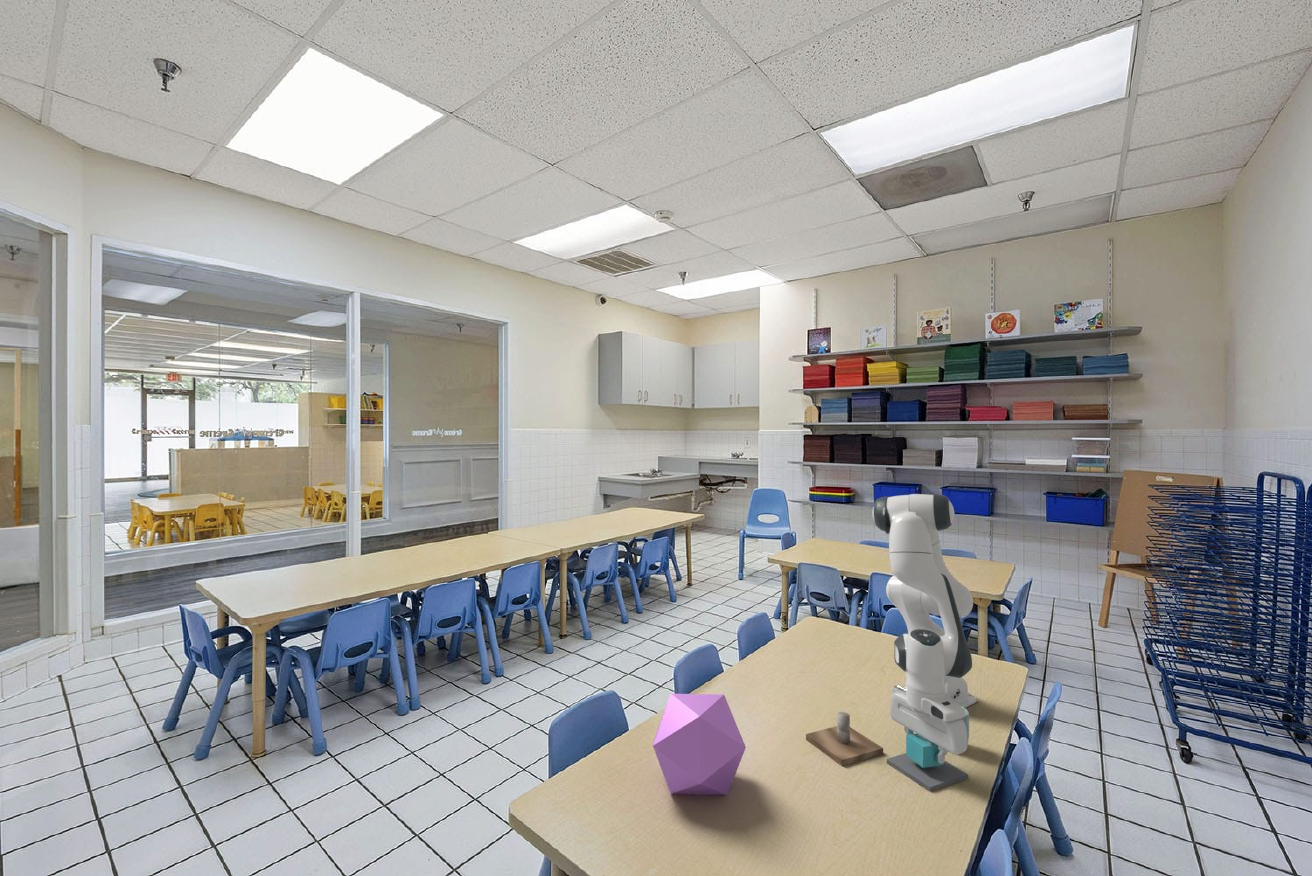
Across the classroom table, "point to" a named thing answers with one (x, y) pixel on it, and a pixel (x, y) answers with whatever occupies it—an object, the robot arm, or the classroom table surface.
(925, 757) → the teal cube
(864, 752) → the post base
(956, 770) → the mat
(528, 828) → the classroom table surface
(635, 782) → the classroom table surface
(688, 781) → the icosahedron
